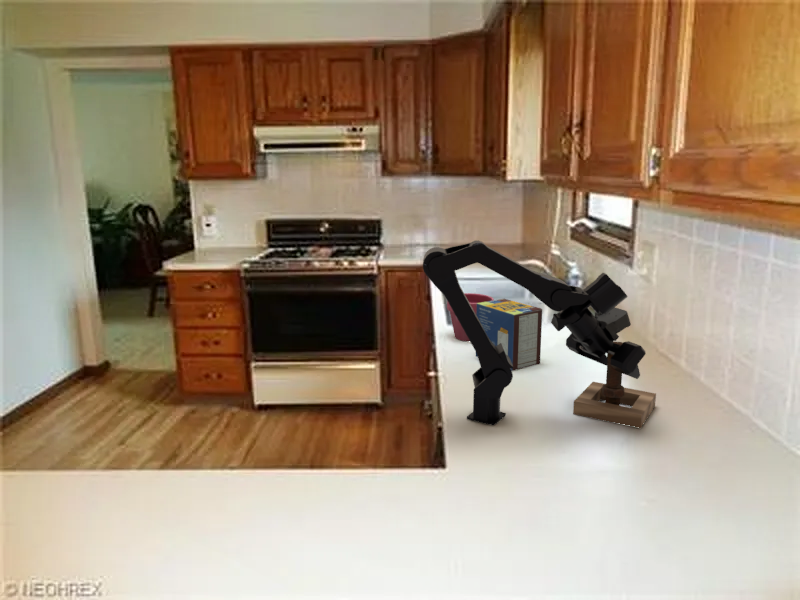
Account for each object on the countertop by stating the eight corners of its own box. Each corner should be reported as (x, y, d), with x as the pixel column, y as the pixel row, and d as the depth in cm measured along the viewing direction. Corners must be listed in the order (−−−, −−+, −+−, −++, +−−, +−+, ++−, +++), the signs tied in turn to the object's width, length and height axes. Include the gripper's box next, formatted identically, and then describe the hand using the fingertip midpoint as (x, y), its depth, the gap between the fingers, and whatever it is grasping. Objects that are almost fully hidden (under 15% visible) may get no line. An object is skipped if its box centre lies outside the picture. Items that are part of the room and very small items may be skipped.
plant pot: (499, 335, 190) (501, 295, 188) (481, 347, 179) (482, 305, 176) (459, 329, 198) (459, 290, 195) (438, 339, 186) (438, 299, 183)
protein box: (502, 349, 176) (503, 297, 173) (540, 364, 164) (543, 308, 160) (474, 356, 171) (475, 302, 167) (512, 371, 158) (514, 314, 155)
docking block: (640, 429, 124) (641, 415, 123) (573, 413, 132) (573, 401, 131) (654, 406, 135) (656, 393, 135) (592, 393, 143) (592, 381, 142)
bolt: (625, 415, 130) (630, 348, 127) (601, 414, 131) (605, 347, 128) (622, 405, 136) (626, 341, 133) (598, 404, 137) (602, 340, 134)
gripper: (642, 307, 118) (679, 354, 124) (579, 289, 135) (615, 331, 141) (607, 351, 117) (646, 396, 123) (548, 327, 133) (585, 367, 140)
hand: (622, 370), depth 132 cm, fingers open, 9 cm apart
